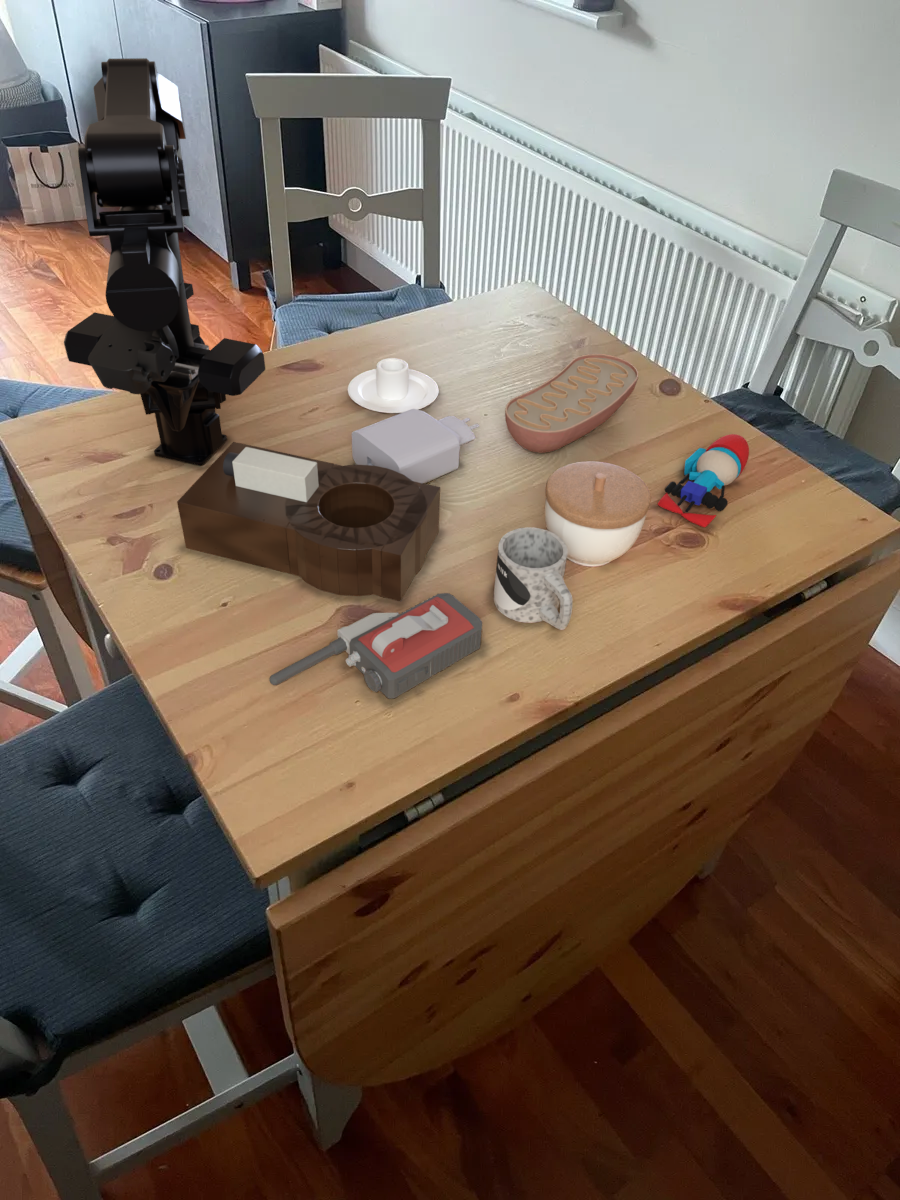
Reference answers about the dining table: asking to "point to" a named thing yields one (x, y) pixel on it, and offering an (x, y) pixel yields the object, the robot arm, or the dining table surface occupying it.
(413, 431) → the charger
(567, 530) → the trinket box
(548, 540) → the mug
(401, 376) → the candle holder
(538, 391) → the anatomical model
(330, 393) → the dining table surface
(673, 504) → the toy figure
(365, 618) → the walkie-talkie
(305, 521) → the wooden desk organizer
